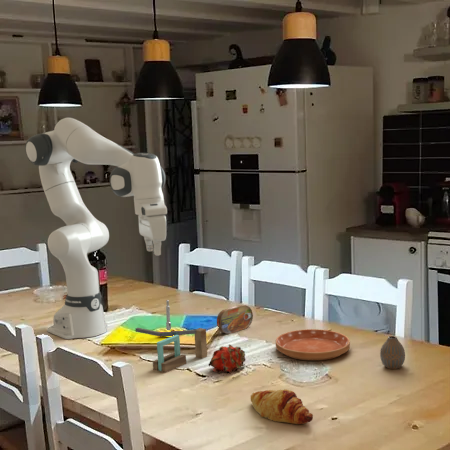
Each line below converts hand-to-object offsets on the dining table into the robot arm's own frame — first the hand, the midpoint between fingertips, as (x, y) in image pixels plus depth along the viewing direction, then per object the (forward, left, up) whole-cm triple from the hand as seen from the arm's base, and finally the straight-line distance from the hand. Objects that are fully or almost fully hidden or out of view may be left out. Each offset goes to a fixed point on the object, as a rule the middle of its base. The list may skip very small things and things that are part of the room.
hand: (153, 253), depth 208 cm
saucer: (+35, +31, -34) cm, 58 cm away
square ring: (+8, -5, -32) cm, 34 cm away
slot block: (+8, -5, -33) cm, 35 cm away
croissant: (+53, -14, -34) cm, 65 cm away
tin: (+1, +36, -34) cm, 49 cm away
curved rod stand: (+3, +3, -33) cm, 34 cm away
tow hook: (-16, +22, -34) cm, 43 cm away
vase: (+62, +30, -34) cm, 77 cm away
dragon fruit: (+24, +2, -34) cm, 42 cm away
